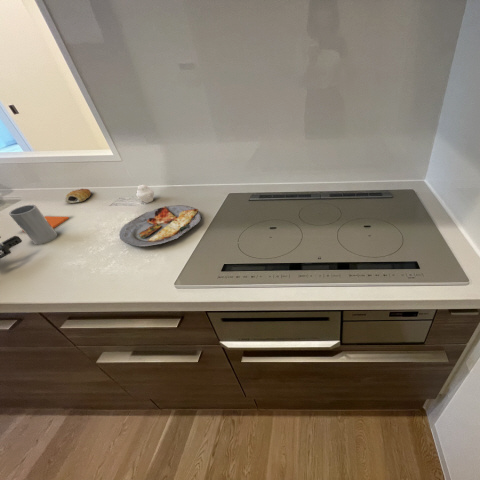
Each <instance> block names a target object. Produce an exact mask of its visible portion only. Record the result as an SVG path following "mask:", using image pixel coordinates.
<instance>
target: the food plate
mask: <svg viewBox="0 0 480 480" xmlns="http://www.w3.org/2000/svg"><path fill="white" fill-rule="evenodd" d="M201 220H202V215H201V211H200V210H199V209H198V208H195V207H193V206H189V205H184V204H178V205H167V206H166V205H164V206H162V207H159V208H155V209H152V210H150V211H146V212H144V213H142V214H140V215H138V216H137V217H135V218H134V219H132V220H130V221H128V222H127V223H125V224H124V225H123V226H122V227H121V229H120V230H119V234H118V235H119V239H120V240H121V241H122V242H124V243H125V244H128V245H132V246H137V247H149V246H157V245H161V244H165V243H167V242H171V241H174V240H175V239H179V238H180V237H181V236H183V235H184V234H186V233H187V232H188V231H190V230H191V229H192V228H194V227H195V226H196V225H197V224H199V223H200V222H201Z"/></svg>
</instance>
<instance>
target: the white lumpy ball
mask: <svg viewBox="0 0 480 480" xmlns="http://www.w3.org/2000/svg"><path fill="white" fill-rule="evenodd" d="M135 196H136V197H137V198H138V199H139V200H141V201H142V202H143V203H145V204H147V203H152V202H153V201H154V197H155V190H154V189H152V188H150V187H149V186H148V185H147V184H140V185H138V186H137V191H136V194H135Z"/></svg>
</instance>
